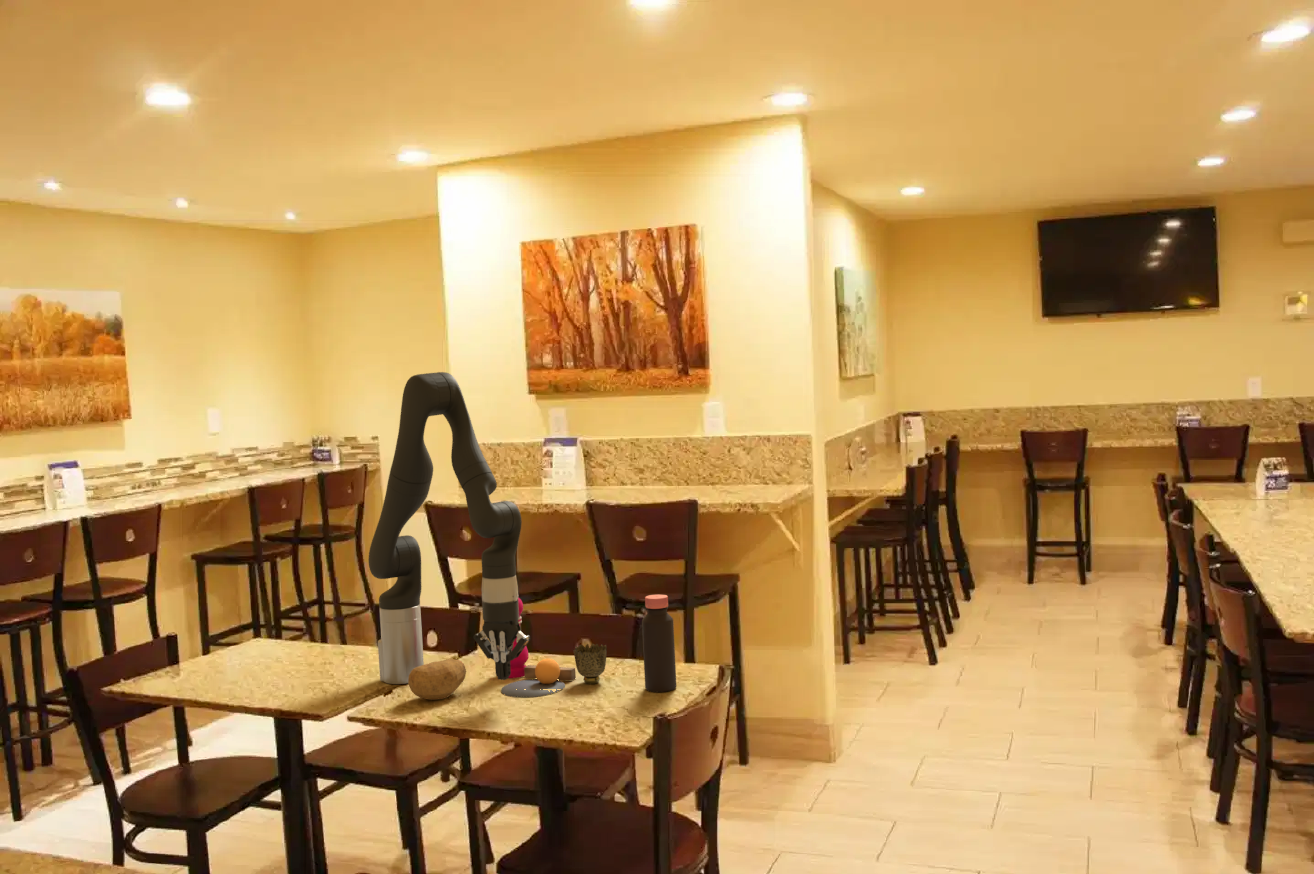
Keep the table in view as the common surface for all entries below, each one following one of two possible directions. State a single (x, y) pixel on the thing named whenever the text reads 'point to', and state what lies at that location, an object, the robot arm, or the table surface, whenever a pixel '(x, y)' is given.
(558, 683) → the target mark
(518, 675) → the pepper mill
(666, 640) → the bottle
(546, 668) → the ball
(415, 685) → the potato
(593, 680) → the cup
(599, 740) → the table surface
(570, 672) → the strip
